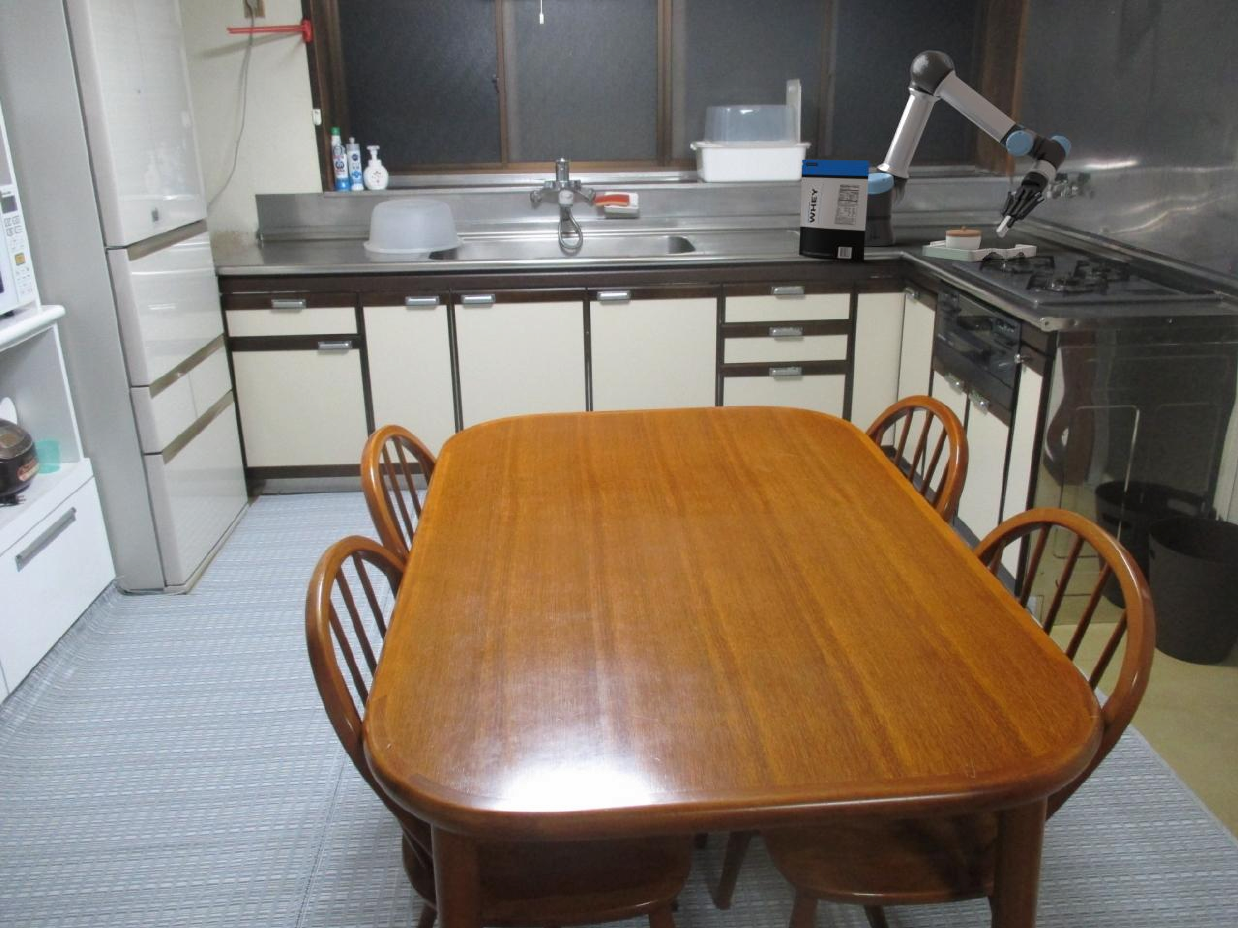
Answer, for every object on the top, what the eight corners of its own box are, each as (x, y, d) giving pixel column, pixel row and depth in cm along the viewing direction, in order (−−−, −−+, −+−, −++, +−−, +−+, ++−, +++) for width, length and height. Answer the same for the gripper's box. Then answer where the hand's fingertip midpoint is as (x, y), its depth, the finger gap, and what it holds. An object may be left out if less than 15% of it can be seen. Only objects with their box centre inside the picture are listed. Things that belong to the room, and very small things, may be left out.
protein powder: (855, 262, 316) (860, 161, 306) (790, 256, 332) (793, 160, 322) (871, 259, 322) (877, 160, 312) (807, 253, 338) (810, 159, 329)
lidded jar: (974, 254, 328) (977, 224, 325) (983, 258, 318) (986, 227, 314) (940, 254, 328) (943, 224, 325) (948, 259, 318) (950, 228, 315)
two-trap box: (909, 254, 330) (910, 244, 329) (959, 247, 343) (960, 238, 342) (984, 263, 307) (985, 253, 306) (1035, 256, 320) (1036, 246, 319)
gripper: (1059, 187, 330) (1021, 244, 327) (1024, 185, 341) (987, 240, 338) (1051, 171, 326) (1012, 228, 323) (1016, 169, 336) (978, 225, 333)
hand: (999, 234), depth 330 cm, fingers closed
